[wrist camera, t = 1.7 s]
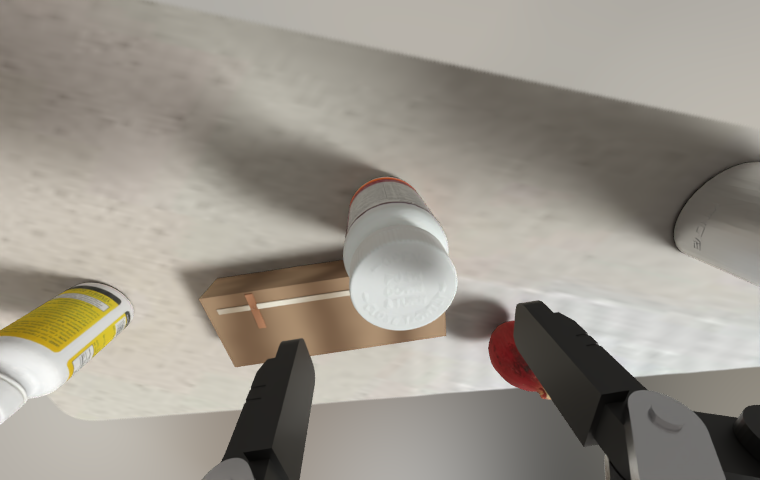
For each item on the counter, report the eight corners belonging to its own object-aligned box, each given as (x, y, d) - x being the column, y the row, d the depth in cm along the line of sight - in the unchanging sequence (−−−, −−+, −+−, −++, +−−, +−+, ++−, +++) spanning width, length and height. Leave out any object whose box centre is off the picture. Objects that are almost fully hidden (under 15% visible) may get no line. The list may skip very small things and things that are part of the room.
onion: (466, 323, 29) (502, 393, 21) (515, 295, 27) (570, 359, 20) (491, 353, 31) (530, 426, 24) (537, 328, 30) (594, 397, 22)
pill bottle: (408, 250, 24) (441, 348, 14) (341, 235, 23) (326, 329, 13) (431, 185, 22) (492, 247, 12) (358, 165, 21) (355, 215, 11)
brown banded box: (434, 246, 24) (443, 263, 22) (437, 314, 28) (446, 336, 25) (216, 278, 24) (198, 299, 22) (247, 342, 28) (234, 368, 25)
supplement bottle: (56, 283, 24) (-126, 385, 15) (118, 277, 24) (-26, 374, 15) (90, 330, 26) (-49, 442, 17) (147, 323, 26) (37, 431, 17)
